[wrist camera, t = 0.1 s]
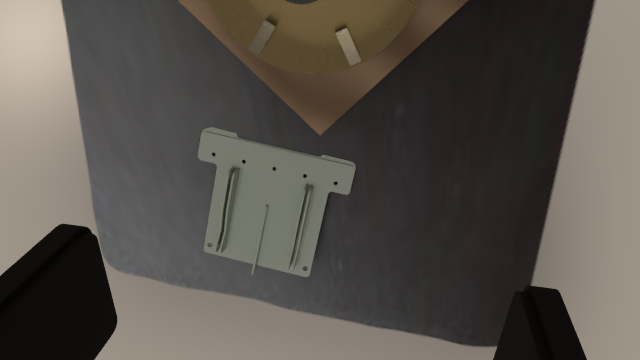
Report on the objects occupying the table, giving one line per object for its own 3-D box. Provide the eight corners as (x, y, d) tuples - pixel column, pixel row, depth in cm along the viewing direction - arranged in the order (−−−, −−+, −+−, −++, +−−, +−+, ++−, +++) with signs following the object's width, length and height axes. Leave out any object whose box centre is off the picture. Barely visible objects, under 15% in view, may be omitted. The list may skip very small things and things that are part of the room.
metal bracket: (324, 298, 45) (176, 261, 46) (329, 273, 51) (197, 240, 52) (358, 156, 42) (197, 119, 42) (360, 146, 47) (217, 113, 48)
